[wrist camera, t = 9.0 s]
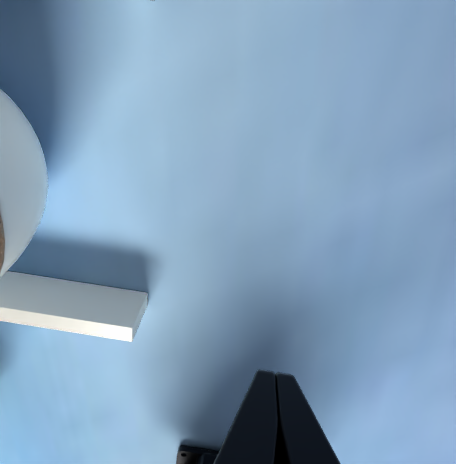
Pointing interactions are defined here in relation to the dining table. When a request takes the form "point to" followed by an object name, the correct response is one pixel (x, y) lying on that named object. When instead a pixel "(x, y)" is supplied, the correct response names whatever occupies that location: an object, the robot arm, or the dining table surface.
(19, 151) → the lidded jar
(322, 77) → the dining table surface
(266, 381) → the robot arm
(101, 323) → the box
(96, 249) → the dining table surface
